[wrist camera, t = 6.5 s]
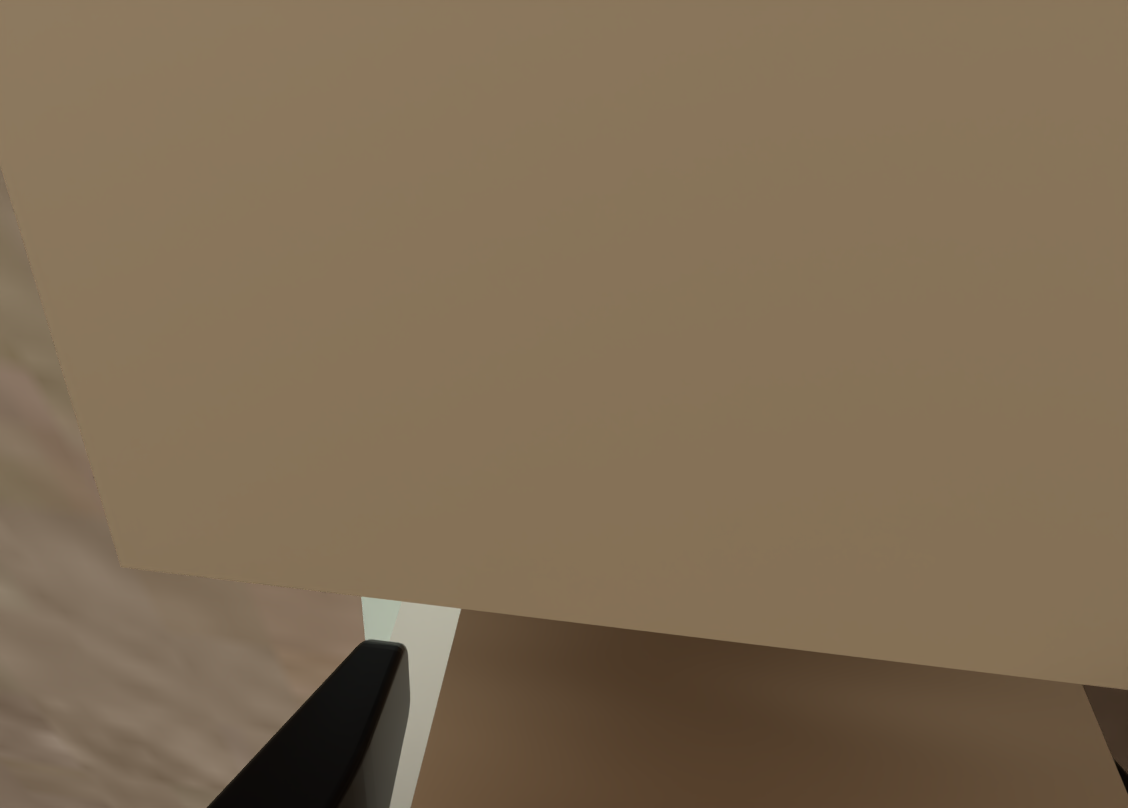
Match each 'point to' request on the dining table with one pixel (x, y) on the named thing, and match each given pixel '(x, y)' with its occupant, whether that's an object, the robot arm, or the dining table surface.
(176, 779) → the dining table surface
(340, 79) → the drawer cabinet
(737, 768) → the peg
